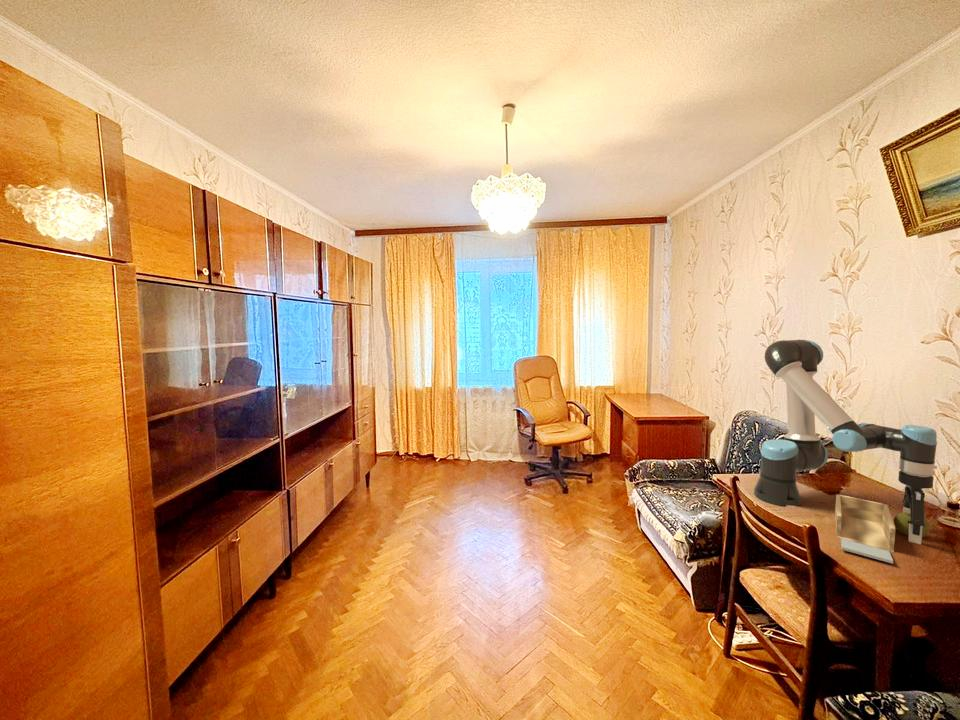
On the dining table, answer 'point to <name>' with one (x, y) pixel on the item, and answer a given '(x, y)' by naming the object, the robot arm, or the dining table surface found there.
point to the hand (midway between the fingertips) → (911, 534)
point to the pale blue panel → (866, 550)
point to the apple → (903, 526)
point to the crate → (864, 522)
